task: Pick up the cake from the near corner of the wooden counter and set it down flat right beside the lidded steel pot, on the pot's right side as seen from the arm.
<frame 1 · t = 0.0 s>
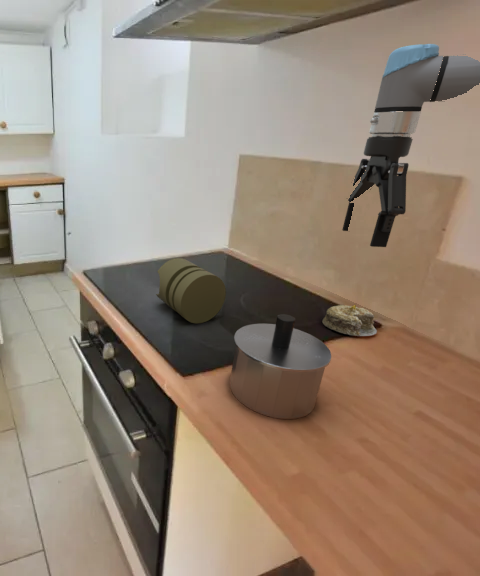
hand: (362, 238, 85), 17 cm above the worktop, tool pointing down, fingers open, 13 cm apart
pot: (270, 392, 61), on the worktop
piston: (185, 312, 88), on the worktop
cake: (348, 328, 81), on the worktop
pot lid: (280, 346, 58), point 8 cm above the worktop, touching pot
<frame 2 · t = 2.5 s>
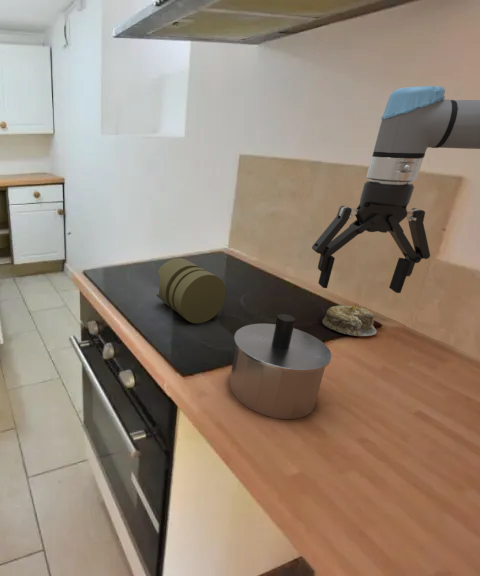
hand: (358, 288, 78), 9 cm above the worktop, tool pointing down, fingers open, 13 cm apart
nothing on the worktop moved.
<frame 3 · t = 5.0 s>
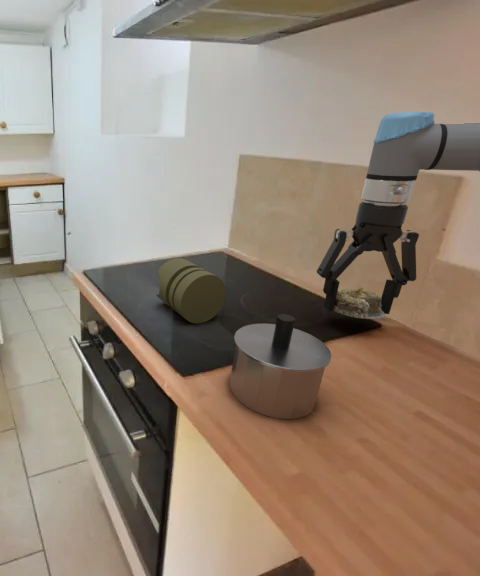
hand: (355, 309, 80), 4 cm above the worktop, tool pointing down, fingers closed on cake, 10 cm apart
cake: (355, 311, 80), point 4 cm above the worktop, touching gripper
everything else where it was.
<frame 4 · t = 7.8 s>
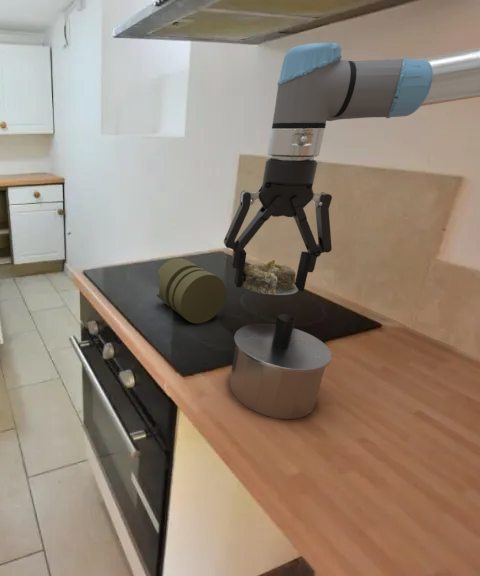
hand: (267, 286, 69), 13 cm above the worktop, tool pointing down, fingers closed on cake, 10 cm apart
cake: (267, 288, 70), point 12 cm above the worktop, touching gripper
everything else where it was.
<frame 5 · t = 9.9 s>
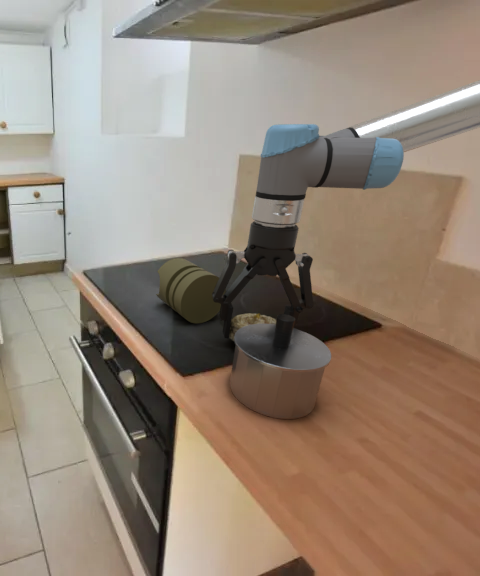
hand: (254, 337, 73), 2 cm above the worktop, tool pointing down, fingers closed on cake, 10 cm apart
cake: (253, 338, 73), point 2 cm above the worktop, touching gripper
everything else where it was.
when the fingers open (0 cm above the worktop, at t = 11.0 s): cake stays where it is, on the worktop.
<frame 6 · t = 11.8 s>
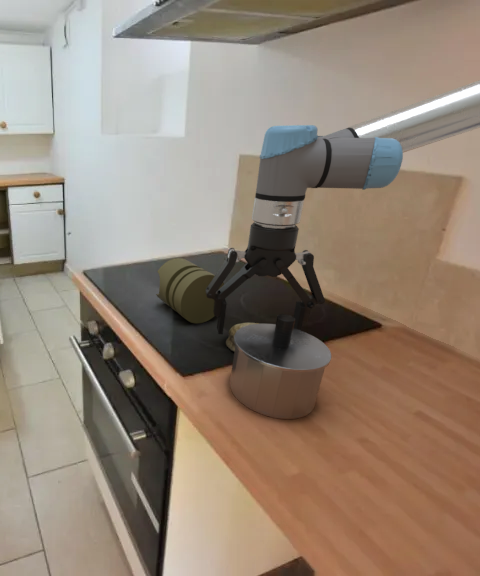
hand: (256, 333, 73), 3 cm above the worktop, tool pointing down, fingers open, 13 cm apart
cake: (252, 348, 74), on the worktop
everything else where it was.
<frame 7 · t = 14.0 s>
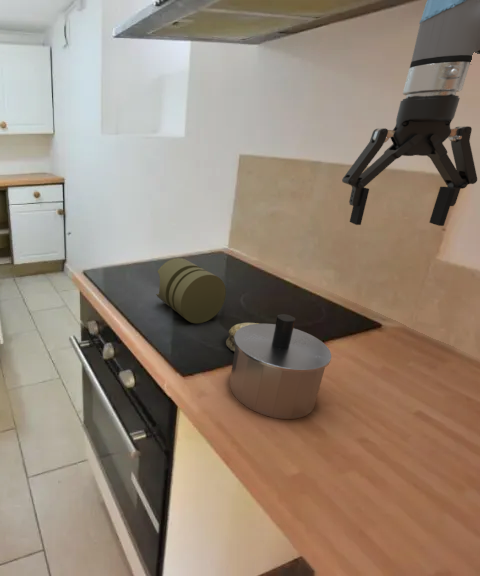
hand: (394, 224, 70), 23 cm above the worktop, tool pointing down, fingers open, 13 cm apart
nothing on the worktop moved.
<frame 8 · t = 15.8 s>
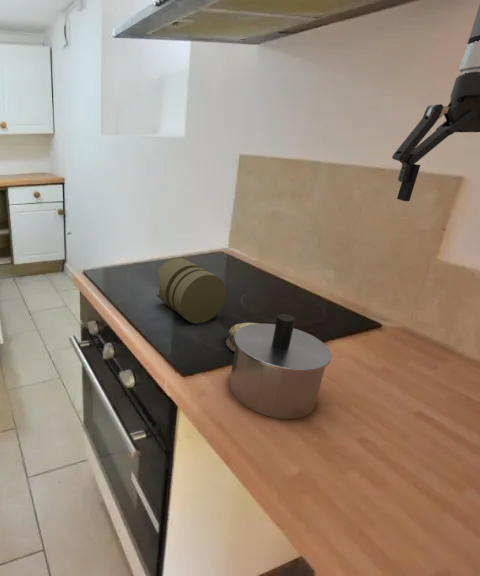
hand: (443, 201, 71), 27 cm above the worktop, tool pointing down, fingers open, 13 cm apart
nothing on the worktop moved.
at the end: cake inside the target area on the worktop beside the pot (0.0 cm from its centre), on the worktop; the gripper is holding nothing; cake touching worktop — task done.
